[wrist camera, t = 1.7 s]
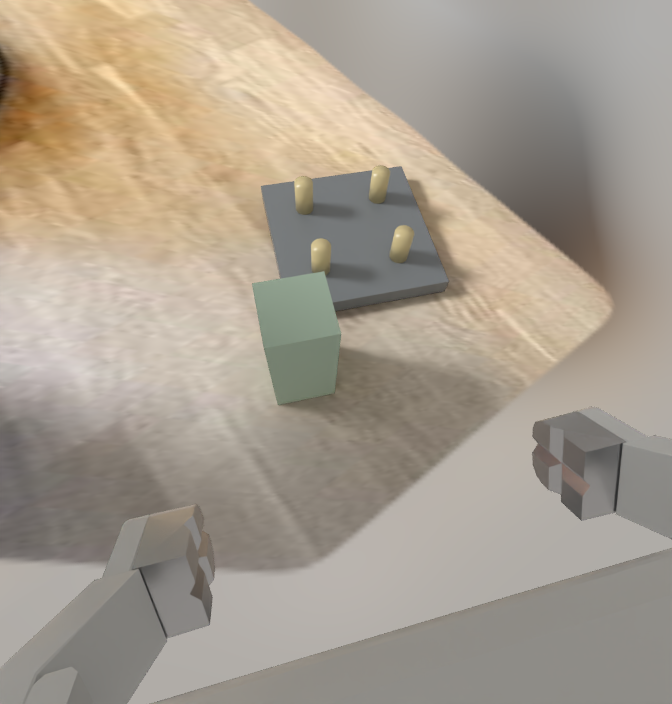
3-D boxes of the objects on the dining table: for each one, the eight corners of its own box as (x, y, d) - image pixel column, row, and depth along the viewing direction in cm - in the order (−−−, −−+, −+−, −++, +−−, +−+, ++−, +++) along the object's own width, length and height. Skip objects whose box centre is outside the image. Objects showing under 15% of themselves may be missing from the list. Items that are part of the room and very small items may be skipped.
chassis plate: (289, 319, 37) (285, 290, 33) (262, 197, 43) (256, 159, 39) (444, 291, 39) (459, 259, 35) (398, 178, 45) (407, 140, 40)
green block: (277, 405, 34) (264, 348, 25) (268, 353, 36) (251, 283, 26) (334, 393, 34) (341, 333, 25) (322, 343, 36) (324, 271, 27)
